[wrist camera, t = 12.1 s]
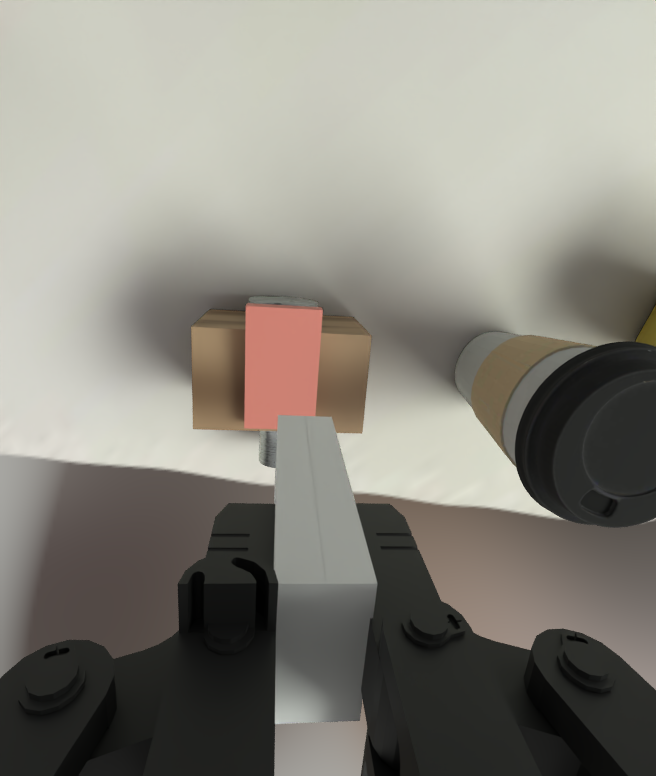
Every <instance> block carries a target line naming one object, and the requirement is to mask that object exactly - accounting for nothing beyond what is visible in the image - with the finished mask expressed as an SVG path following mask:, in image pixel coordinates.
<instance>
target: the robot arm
mask: <svg viewBox="0 0 656 776" xmlns="http://www.w3.org/2000/svg"><path fill="white" fill-rule="evenodd" d="M178 603H179V604H178V607H179V631H178V632H176V633H175V634H174V635H173V636H172V637H170V638H169V639H167V640H166V641H164V642H162V643H160V644H159V645H156V646H154V647H151V648H148V649H146V650H143V651H140V652H136V653H133V654H129V655H126V656H122V657H119V658H116V659H113V658H112V657H111V655H110V654H109V652H108V651H107V650H106V648H105V647H104V646H101V645H99V644H97V643H94V642H92V641H89V640H67V641H63V642H59V643H56V644H52V645H48V646H45V647H43V648H41V649H40V650H38V651H36V652H34V653H32V654H30V655H28V656H26V657H24V658H23V659H22V660H21V661H20V662H18V663H17V664H16V665H15V666H14V667H12V668H11V669H10V670H9V671H8V672H7V673H5V674H4V675H3V676H2V677H1V678H0V776H274V749H275V747H274V746H275V744H274V743H275V724H286V723H311V722H338V721H359V720H360V713H361V707H362V699H363V704H364V709H365V715H366V721H367V735H366V742H365V749H364V757H363V765H362V771H361V776H656V690H655V689H654V688H653V687H652V686H651V685H649V683H647V682H646V681H645V680H644V679H643V678H642V677H641V676H640V675H639V674H638V673H637V672H636V671H635V670H633V669H632V668H631V667H630V666H629V665H628V664H627V663H626V662H625V661H624V660H623V659H622V658H621V657H620V656H618V655H617V654H616V653H614V652H613V651H612V650H610V649H609V648H608V647H606V646H605V645H603V643H601V642H599V641H597V640H595V639H593V638H591V637H588V636H586V635H585V634H582V633H579V632H575V631H570V630H566V629H549V630H546V631H544V632H542V633H541V634H539V635H537V636H536V638H535V641H534V643H533V646H532V648H531V650H527V649H523V648H519V647H515V646H511V645H507V644H504V643H499V642H495V641H492V640H490V639H486V638H484V637H481V636H479V635H477V634H475V633H473V631H472V629H471V627H470V626H469V624H468V623H467V622H466V620H465V619H464V617H463V616H462V615H461V614H460V613H459V612H457V611H456V610H455V609H453V608H452V607H451V606H450V605H448V604H446V603H444V602H442V601H441V600H440V597H439V595H438V593H437V590H436V588H435V586H434V584H433V581H432V579H431V577H430V574H429V572H428V570H427V568H426V565H425V563H424V561H423V558H422V556H421V554H420V552H419V550H417V545H416V542H415V540H414V538H413V536H412V535H411V531H410V529H409V526H408V524H407V522H406V519H405V517H404V516H403V515H401V514H400V513H399V512H398V511H397V510H396V509H395V508H394V507H393V506H392V505H390V504H363V503H358V504H356V503H355V500H354V496H353V492H352V489H351V485H350V481H349V478H348V474H347V471H346V467H345V463H344V460H343V456H342V452H341V449H340V445H339V441H338V438H337V434H336V431H335V427H334V423H333V420H332V417H320V416H291V415H278V426H277V449H276V471H275V494H274V504H244V503H242V504H241V503H229V504H228V505H227V506H226V507H225V508H224V509H223V510H222V511H221V512H220V513H219V514H218V515H217V516H216V517H215V521H214V525H213V529H212V534H211V538H210V542H209V546H208V551H207V555H206V558H204V559H201V560H199V561H197V562H196V563H195V564H194V565H192V566H191V567H190V568H188V569H187V570H186V571H185V572H184V574H183V576H182V578H181V579H180V581H179V583H178Z"/></svg>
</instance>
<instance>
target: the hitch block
mask: <svg viewBox="0 0 656 776" xmlns="http://www.w3.org/2000/svg"><path fill="white" fill-rule="evenodd" d="M245 323H246V311H233V310H215V309H210V310H209V311H207V312H206V313H205V314H204V315H203V316H202V317H201V318H200V319H199V320H198V321H197V322H196V323H195V324H194V325H193V326H191V345H192V397H193V429H210V430H250V431H277V429H248V428H244V414H245ZM371 337H372V336H371V335H370V334H369V333H368V331H367V330H366V329H365V328H364V327H363V326H362V325H361V324H360V323H359V322H358V321H357V320H356V319H355V318H354V317H344V316H326V315H322V329H321V343H320V357H319V372H318V386H317V400H316V414H315V416H320V417H332V420H333V423H334V427H335V431H336V433H362V430H363V420H364V410H365V399H366V389H367V379H368V368H369V358H370V348H371Z"/></svg>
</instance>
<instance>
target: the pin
mask: <svg viewBox="0 0 656 776" xmlns="http://www.w3.org/2000/svg"><path fill="white" fill-rule="evenodd" d="M249 303H254V304H272V305H290V306H308V307H318V302H317V301H314V300H310V299H304V298H296V297H284V296H256V297H250V298H249ZM276 449H277V431H260V441H259V461H260V463H261V464H263V465H265V466H268V467H272V468H276Z"/></svg>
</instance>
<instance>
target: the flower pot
mask: <svg viewBox="0 0 656 776" xmlns="http://www.w3.org/2000/svg"><path fill="white" fill-rule="evenodd" d="M636 342H639V343H645V344H649V345H653V346H655V347H656V305H655V307H654V309H653V310H652V312H651V314H650V316H649V317H648V319H647V321H646V323H645V325H644V326H643V328H642V330H641V332H640V333H639V335H638V337H637V339H636Z"/></svg>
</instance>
